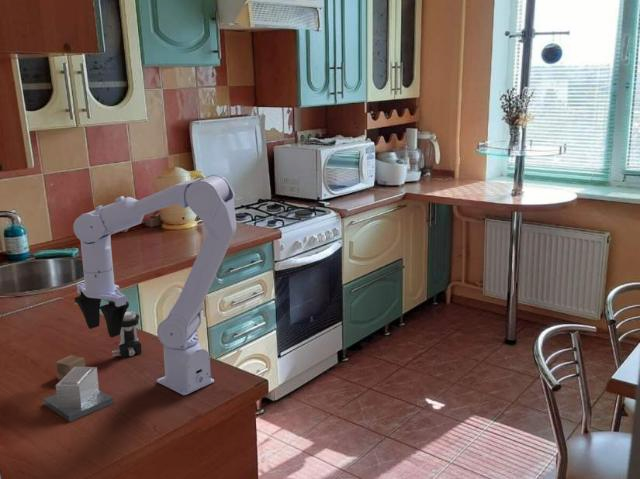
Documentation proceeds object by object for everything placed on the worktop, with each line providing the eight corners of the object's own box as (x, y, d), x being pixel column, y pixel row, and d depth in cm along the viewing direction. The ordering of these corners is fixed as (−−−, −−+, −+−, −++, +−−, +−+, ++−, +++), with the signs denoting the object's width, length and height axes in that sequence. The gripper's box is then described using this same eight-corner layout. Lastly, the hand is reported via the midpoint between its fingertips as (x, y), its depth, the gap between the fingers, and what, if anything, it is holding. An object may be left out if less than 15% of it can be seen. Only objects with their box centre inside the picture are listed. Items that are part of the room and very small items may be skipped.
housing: (81, 407, 114) (78, 384, 113) (58, 407, 114) (55, 384, 113) (98, 387, 122) (96, 365, 121) (77, 387, 122) (74, 365, 121)
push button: (115, 362, 136) (111, 320, 134) (109, 353, 141) (106, 313, 138) (145, 355, 140) (141, 314, 138) (138, 347, 144) (135, 307, 142)
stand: (113, 403, 118) (113, 397, 118) (69, 421, 112) (69, 416, 111) (87, 387, 125) (86, 382, 124) (44, 404, 118) (43, 398, 118)
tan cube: (86, 375, 130) (84, 358, 129) (71, 383, 127) (69, 365, 126) (72, 371, 132) (71, 354, 131) (58, 379, 128) (55, 362, 128)
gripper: (136, 270, 122) (141, 333, 126) (95, 259, 131) (101, 318, 134) (105, 279, 117) (111, 344, 120) (65, 266, 126) (71, 327, 129)
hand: (104, 331), depth 127 cm, fingers open, 7 cm apart
